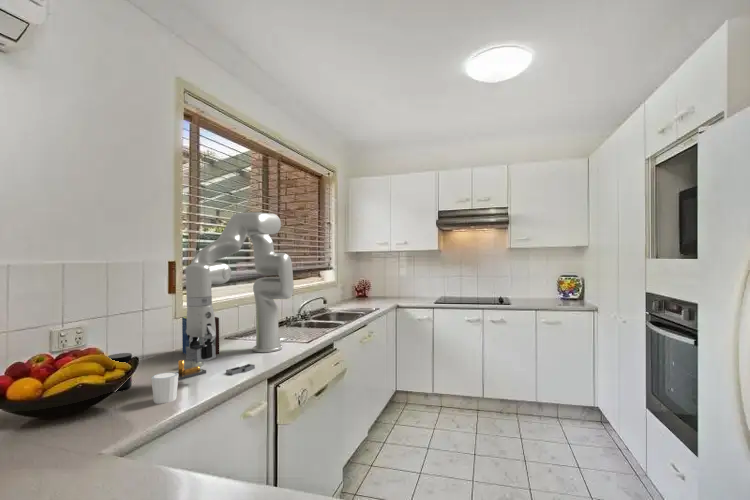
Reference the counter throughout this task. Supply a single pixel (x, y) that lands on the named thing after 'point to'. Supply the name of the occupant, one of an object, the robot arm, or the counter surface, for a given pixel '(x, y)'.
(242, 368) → the chain tail
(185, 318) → the protein box
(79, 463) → the counter surface
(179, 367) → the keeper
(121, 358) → the supplement container
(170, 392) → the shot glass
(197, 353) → the end link
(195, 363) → the valve
